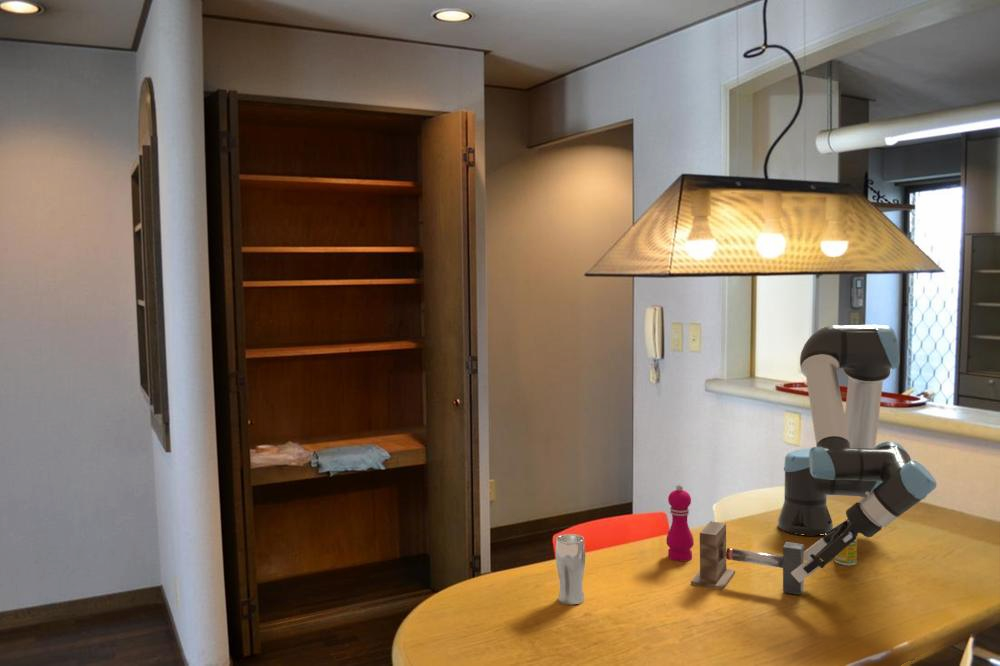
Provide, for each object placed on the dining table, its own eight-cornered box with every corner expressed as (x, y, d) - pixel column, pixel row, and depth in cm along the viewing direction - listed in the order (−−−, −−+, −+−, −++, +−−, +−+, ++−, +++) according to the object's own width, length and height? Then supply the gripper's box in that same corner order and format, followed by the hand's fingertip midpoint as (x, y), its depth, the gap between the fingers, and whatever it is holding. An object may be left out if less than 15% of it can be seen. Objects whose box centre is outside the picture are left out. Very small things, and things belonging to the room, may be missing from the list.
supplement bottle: (849, 567, 202) (849, 530, 201) (830, 561, 206) (830, 525, 205) (860, 562, 205) (861, 526, 204) (841, 557, 209) (841, 521, 209)
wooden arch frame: (735, 573, 200) (735, 523, 199) (723, 590, 190) (723, 537, 189) (704, 568, 204) (703, 519, 203) (690, 584, 194) (690, 532, 193)
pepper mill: (691, 552, 215) (691, 481, 214) (695, 562, 208) (695, 488, 207) (665, 552, 216) (664, 481, 215) (668, 561, 209) (667, 488, 208)
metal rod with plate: (803, 588, 188) (803, 544, 187) (800, 595, 185) (800, 549, 184) (729, 576, 197) (729, 533, 196) (725, 582, 193) (725, 538, 193)
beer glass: (550, 599, 187) (549, 538, 186) (571, 591, 191) (570, 531, 190) (571, 608, 181) (570, 545, 180) (592, 600, 186) (591, 538, 185)
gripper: (864, 487, 189) (798, 539, 198) (851, 516, 168) (778, 572, 177) (888, 512, 187) (820, 563, 196) (878, 544, 166) (803, 600, 175)
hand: (800, 567), depth 186 cm, fingers open, 13 cm apart
